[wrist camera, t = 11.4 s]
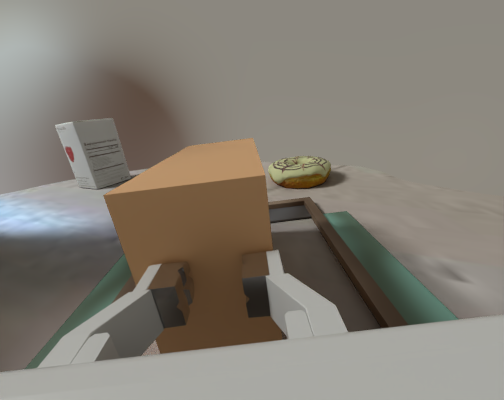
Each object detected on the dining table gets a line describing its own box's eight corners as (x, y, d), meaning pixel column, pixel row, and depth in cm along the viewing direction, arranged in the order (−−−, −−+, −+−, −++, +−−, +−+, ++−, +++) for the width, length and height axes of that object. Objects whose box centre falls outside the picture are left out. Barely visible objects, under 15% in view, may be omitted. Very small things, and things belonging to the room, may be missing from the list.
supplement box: (77, 187, 58) (52, 124, 53) (113, 177, 65) (94, 120, 60) (96, 190, 53) (71, 120, 48) (132, 178, 60) (113, 117, 55)
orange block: (169, 377, 12) (103, 195, 9) (208, 240, 25) (188, 146, 22) (285, 364, 12) (265, 175, 9) (263, 233, 25) (252, 137, 22)
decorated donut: (270, 194, 37) (268, 171, 36) (269, 176, 47) (267, 157, 46) (338, 187, 36) (338, 162, 35) (322, 170, 46) (321, 151, 45)
